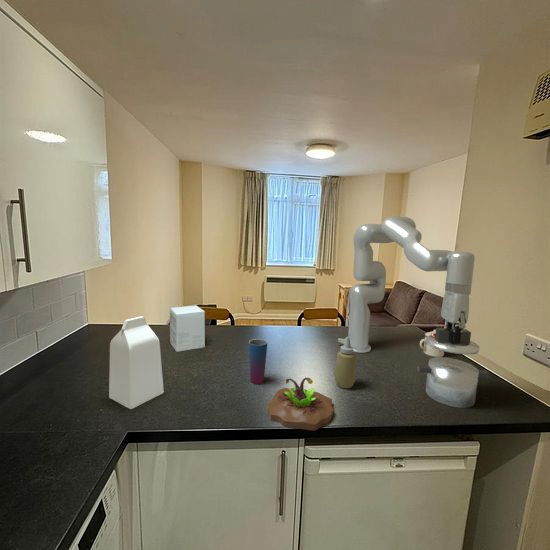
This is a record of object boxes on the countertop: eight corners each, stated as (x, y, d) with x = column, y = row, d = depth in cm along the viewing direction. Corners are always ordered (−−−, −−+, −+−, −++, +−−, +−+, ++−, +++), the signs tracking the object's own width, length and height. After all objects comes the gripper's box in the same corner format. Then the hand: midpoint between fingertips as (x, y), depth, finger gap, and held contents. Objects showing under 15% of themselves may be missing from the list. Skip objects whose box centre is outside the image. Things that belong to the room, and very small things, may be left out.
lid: (436, 352, 100) (437, 335, 99) (419, 336, 116) (420, 321, 115) (489, 356, 98) (491, 339, 97) (464, 339, 114) (466, 324, 113)
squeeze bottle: (343, 392, 108) (346, 342, 106) (328, 382, 115) (331, 335, 113) (360, 387, 112) (364, 339, 109) (345, 378, 119) (348, 333, 116)
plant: (324, 438, 84) (327, 400, 82) (259, 420, 91) (260, 384, 89) (337, 402, 102) (340, 370, 101) (282, 389, 109) (283, 359, 108)
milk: (130, 409, 94) (128, 326, 90) (109, 397, 100) (105, 319, 96) (163, 392, 104) (162, 317, 100) (142, 383, 110) (140, 311, 106)
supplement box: (196, 338, 156) (196, 304, 154) (205, 347, 145) (205, 311, 143) (169, 342, 149) (169, 307, 147) (176, 352, 138) (175, 314, 136)
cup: (268, 378, 116) (270, 340, 114) (262, 386, 110) (263, 346, 108) (252, 375, 118) (253, 337, 116) (244, 383, 112) (245, 343, 110)
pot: (423, 404, 102) (426, 372, 101) (409, 382, 117) (411, 354, 115) (496, 411, 100) (501, 378, 98) (472, 388, 114) (476, 359, 113)
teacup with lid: (435, 349, 152) (438, 326, 150) (448, 357, 143) (451, 333, 142) (413, 350, 150) (415, 327, 149) (425, 358, 141) (427, 333, 140)
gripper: (436, 284, 113) (431, 333, 115) (457, 292, 97) (450, 349, 99) (458, 285, 112) (452, 334, 114) (482, 293, 96) (476, 350, 98)
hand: (452, 340), depth 107 cm, fingers closed on lid, 3 cm apart
